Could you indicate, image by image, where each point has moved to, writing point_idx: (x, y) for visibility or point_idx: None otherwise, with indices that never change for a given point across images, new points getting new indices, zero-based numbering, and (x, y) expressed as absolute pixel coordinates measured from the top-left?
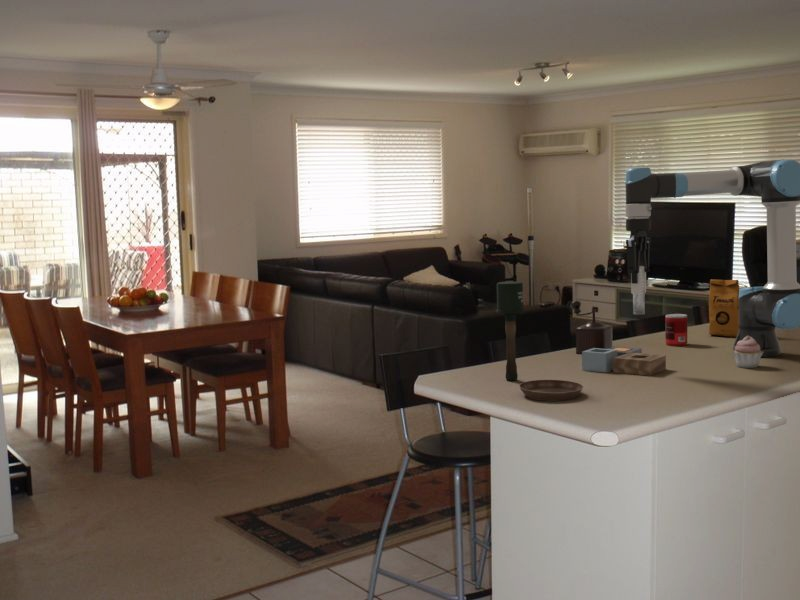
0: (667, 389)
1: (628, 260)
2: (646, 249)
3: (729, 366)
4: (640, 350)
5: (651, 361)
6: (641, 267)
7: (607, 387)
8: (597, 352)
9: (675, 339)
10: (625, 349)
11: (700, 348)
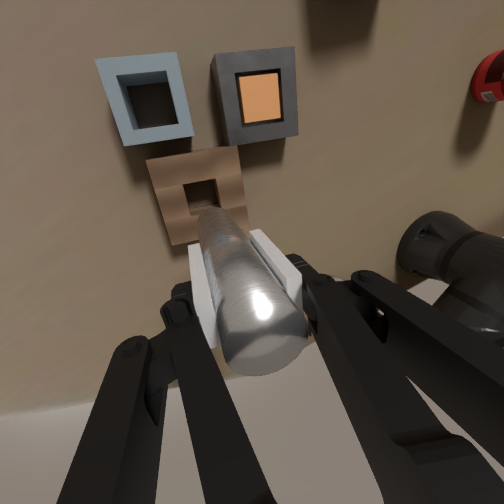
0: (96, 321)
1: (88, 448)
2: (499, 447)
3: (318, 272)
4: (290, 136)
5: (179, 243)
6: (247, 369)
7: (7, 248)
8: (120, 114)
9: (485, 86)
10: (265, 109)
11: (454, 145)
